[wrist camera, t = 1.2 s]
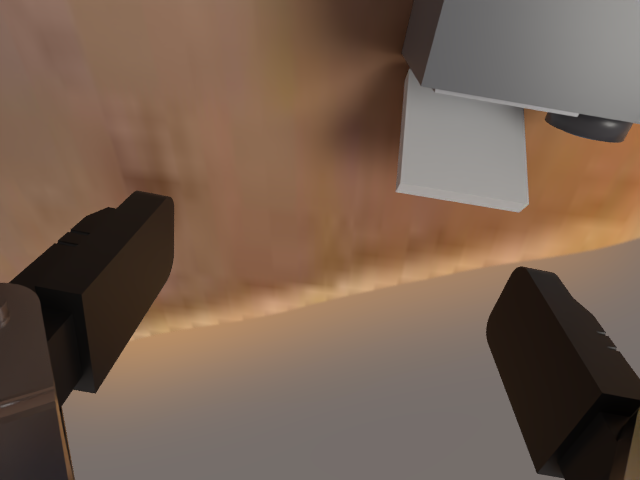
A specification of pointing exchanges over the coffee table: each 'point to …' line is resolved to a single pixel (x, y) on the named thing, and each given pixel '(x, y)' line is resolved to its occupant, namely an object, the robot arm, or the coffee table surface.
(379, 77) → the coffee table surface
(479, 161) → the door
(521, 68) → the camera body
